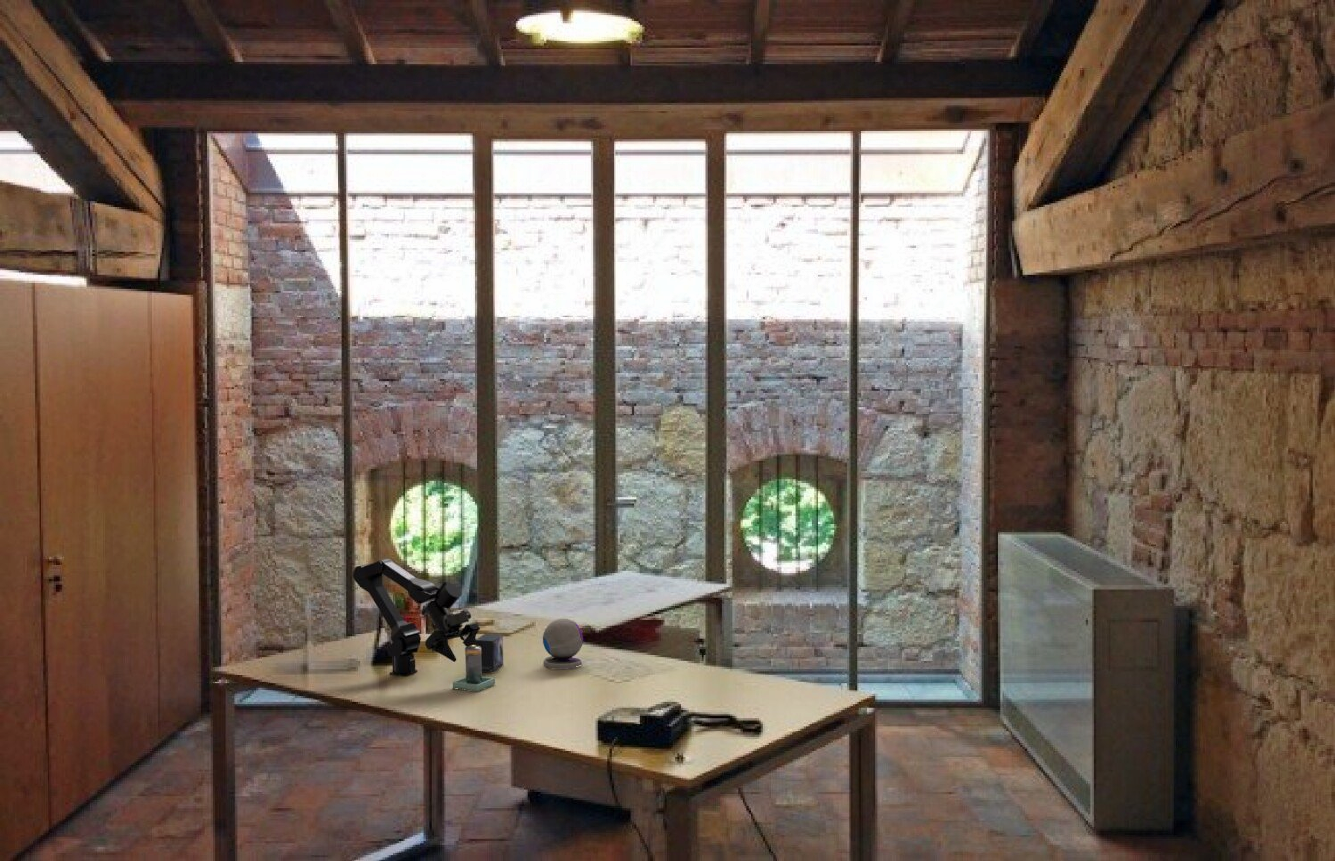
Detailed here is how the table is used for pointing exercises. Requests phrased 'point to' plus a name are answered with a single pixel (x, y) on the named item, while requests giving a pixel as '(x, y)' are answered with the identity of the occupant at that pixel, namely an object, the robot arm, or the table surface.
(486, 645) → the small box
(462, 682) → the tray
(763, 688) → the table surface
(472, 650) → the lidded jar
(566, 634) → the webcam
